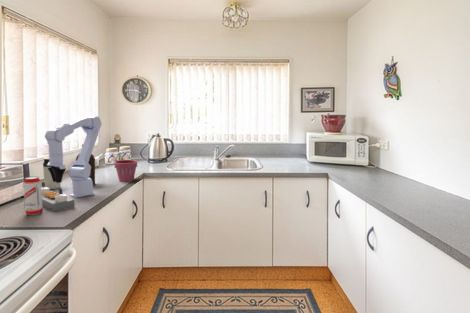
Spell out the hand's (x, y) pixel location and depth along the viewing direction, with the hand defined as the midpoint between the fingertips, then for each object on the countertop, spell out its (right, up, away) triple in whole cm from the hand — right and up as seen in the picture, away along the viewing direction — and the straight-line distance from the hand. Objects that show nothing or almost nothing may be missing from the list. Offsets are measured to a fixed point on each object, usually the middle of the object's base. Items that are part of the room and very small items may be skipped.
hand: (57, 182), depth 147 cm
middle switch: (-2, -7, -1) cm, 7 cm away
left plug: (-10, -6, +5) cm, 13 cm away
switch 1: (-5, -7, +1) cm, 8 cm away
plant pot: (+14, -4, +54) cm, 56 cm away
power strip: (-2, -11, 0) cm, 11 cm away
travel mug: (-21, -6, +31) cm, 37 cm away
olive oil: (-5, -5, +40) cm, 41 cm away
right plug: (+6, -8, -7) cm, 12 cm away
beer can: (-1, -13, -15) cm, 20 cm away
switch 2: (+1, -7, -3) cm, 8 cm away
